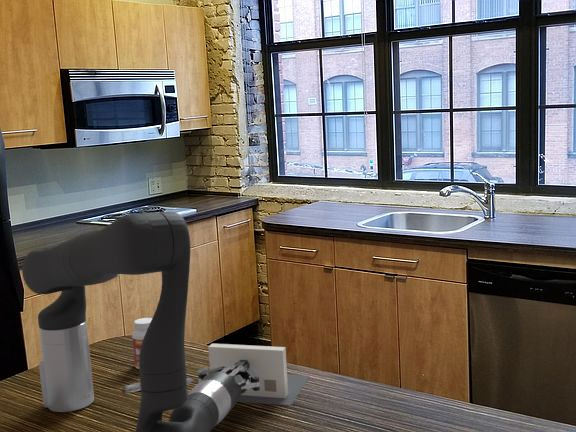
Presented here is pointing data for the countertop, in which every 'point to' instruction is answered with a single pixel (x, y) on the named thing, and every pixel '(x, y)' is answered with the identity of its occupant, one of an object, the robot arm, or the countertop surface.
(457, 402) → the countertop surface
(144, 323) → the pill bottle
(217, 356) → the flat white box
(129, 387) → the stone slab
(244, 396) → the rubber mat
